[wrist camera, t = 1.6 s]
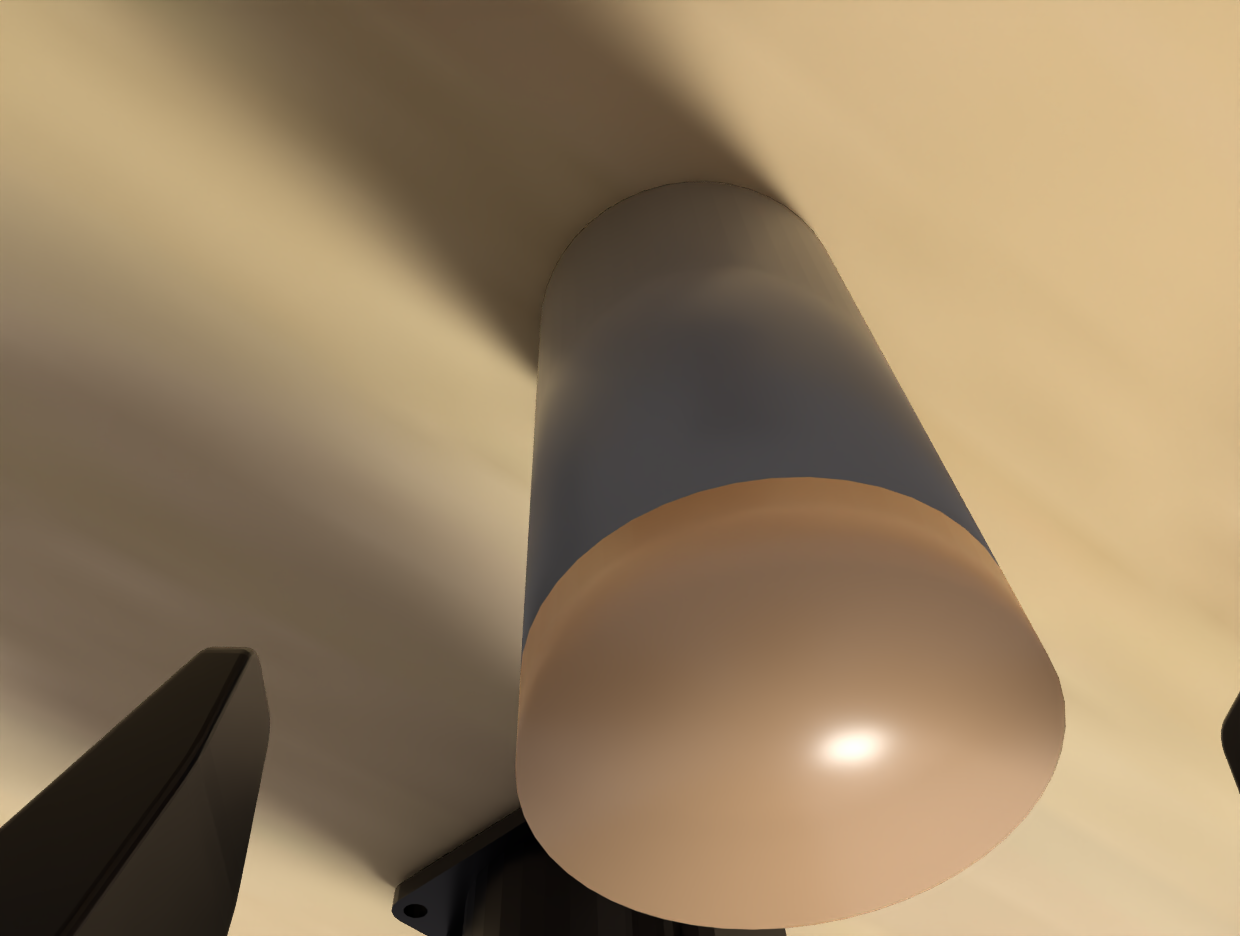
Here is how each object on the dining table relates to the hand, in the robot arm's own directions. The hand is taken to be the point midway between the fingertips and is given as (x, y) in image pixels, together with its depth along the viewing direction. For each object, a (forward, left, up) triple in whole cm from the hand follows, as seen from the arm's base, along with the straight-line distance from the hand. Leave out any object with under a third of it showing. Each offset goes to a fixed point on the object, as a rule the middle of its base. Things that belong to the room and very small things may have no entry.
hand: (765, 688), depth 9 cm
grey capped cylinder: (0, 0, -7) cm, 7 cm away
